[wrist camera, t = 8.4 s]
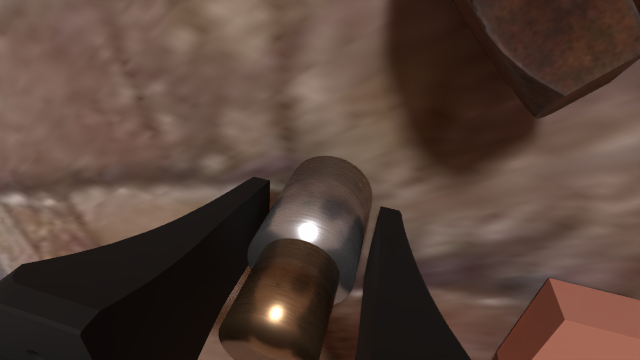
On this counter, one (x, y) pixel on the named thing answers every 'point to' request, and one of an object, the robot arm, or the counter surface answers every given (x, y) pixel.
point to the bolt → (555, 45)
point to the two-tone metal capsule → (300, 264)
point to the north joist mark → (575, 326)
